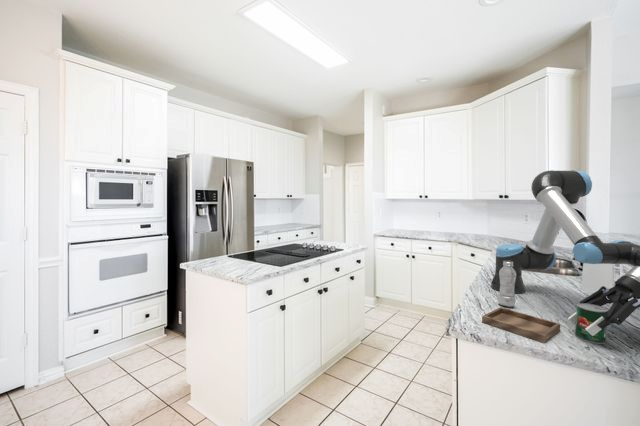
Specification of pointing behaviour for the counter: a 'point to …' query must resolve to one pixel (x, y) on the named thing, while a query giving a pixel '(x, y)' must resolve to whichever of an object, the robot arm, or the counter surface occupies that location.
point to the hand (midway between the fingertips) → (579, 326)
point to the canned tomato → (589, 322)
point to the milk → (597, 277)
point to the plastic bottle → (507, 284)
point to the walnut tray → (522, 324)
